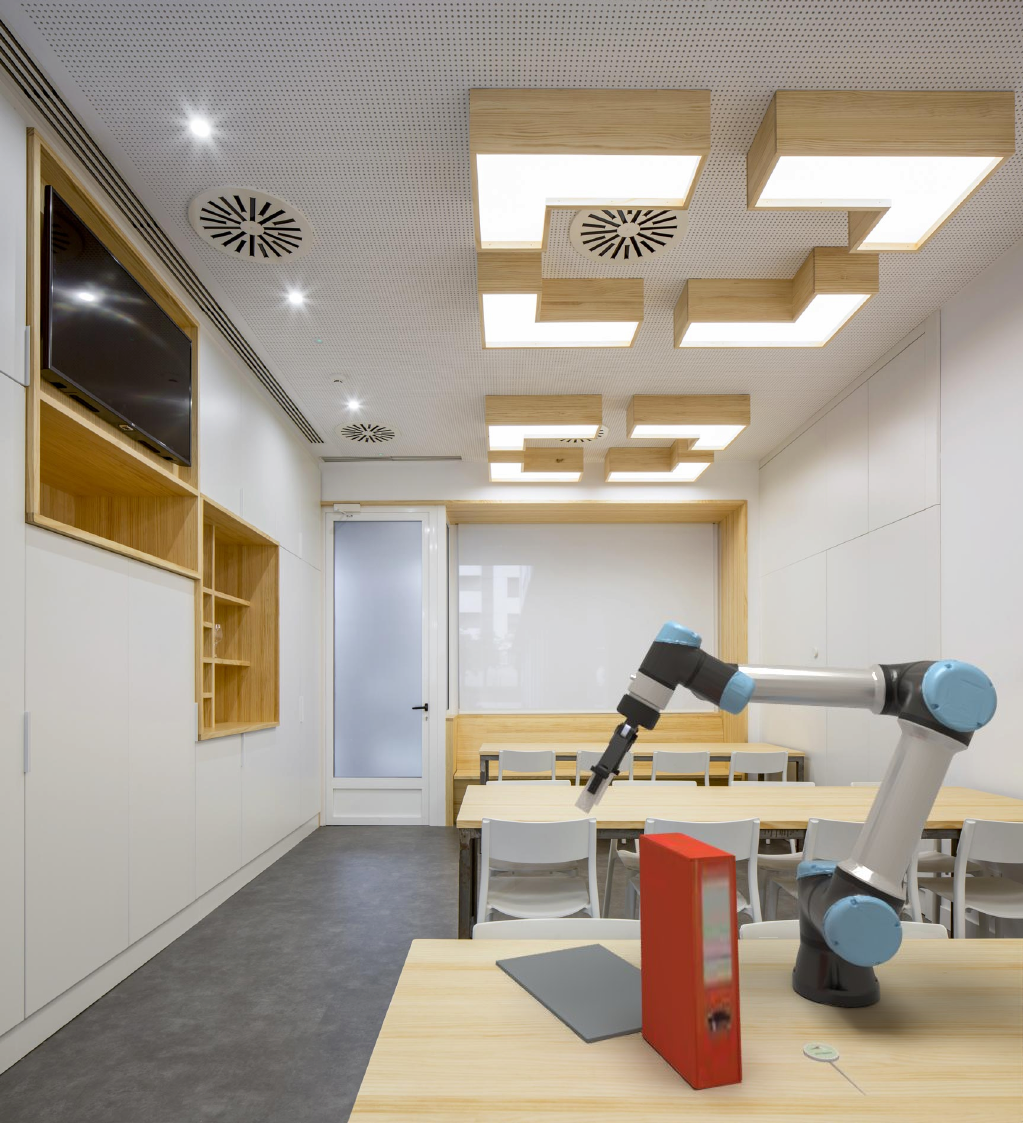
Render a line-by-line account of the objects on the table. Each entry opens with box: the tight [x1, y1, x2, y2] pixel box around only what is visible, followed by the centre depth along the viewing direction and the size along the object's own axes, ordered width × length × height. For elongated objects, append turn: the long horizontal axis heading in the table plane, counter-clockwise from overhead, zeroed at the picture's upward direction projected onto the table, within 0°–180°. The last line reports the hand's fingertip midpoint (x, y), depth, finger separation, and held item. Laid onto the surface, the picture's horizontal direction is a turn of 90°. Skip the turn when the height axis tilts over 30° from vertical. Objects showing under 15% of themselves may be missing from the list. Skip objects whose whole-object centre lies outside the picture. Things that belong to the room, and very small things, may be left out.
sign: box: [802, 1042, 867, 1097], centre depth 122 cm, size 5×1×15 cm
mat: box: [495, 943, 642, 1044], centre depth 153 cm, size 24×38×1 cm, turn 24°
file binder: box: [638, 832, 743, 1091], centre depth 127 cm, size 8×17×32 cm, turn 16°
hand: (586, 805), depth 146 cm, fingers open, 13 cm apart
